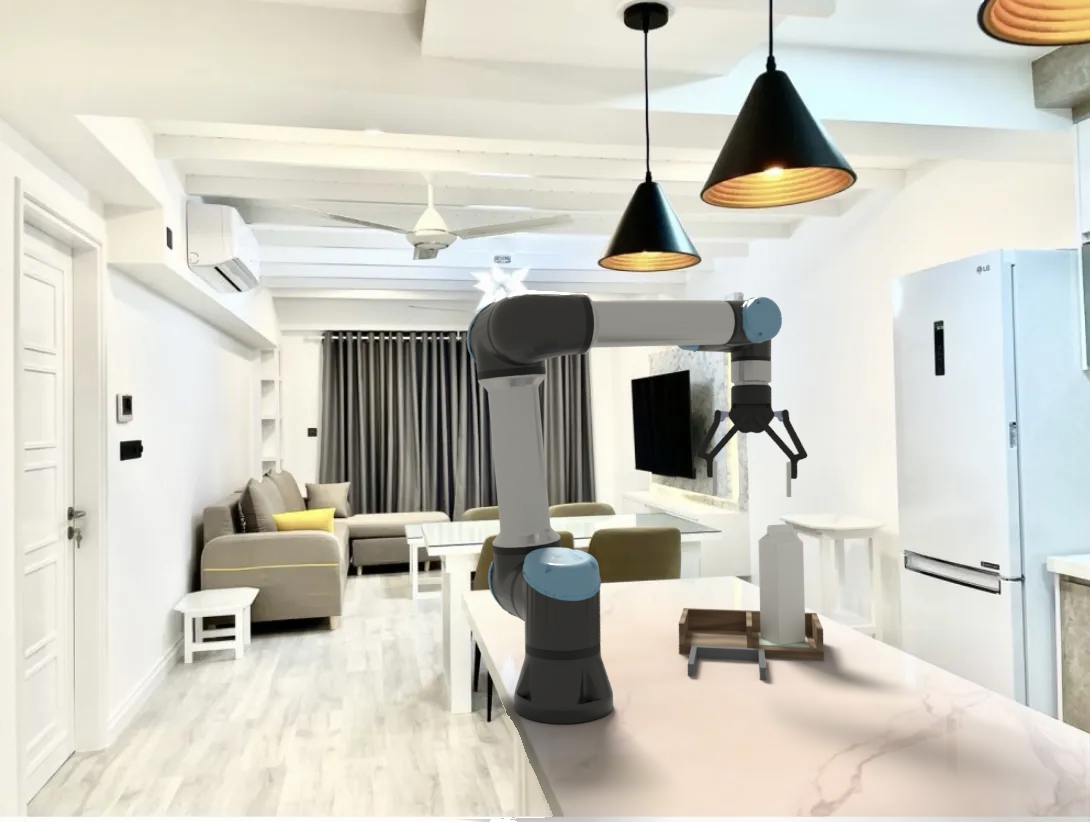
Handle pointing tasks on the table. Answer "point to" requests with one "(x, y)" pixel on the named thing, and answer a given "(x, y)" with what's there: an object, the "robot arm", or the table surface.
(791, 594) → the milk
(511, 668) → the table surface
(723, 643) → the box
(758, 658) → the bracket
